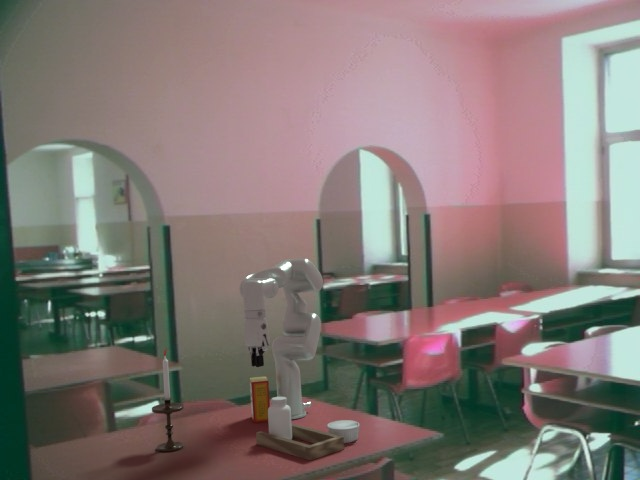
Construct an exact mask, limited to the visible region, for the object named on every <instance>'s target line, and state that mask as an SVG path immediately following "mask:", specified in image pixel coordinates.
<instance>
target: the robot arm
mask: <svg viewBox="0 0 640 480" xmlns="http://www.w3.org/2000/svg"><path fill="white" fill-rule="evenodd" d="M323 286H324V280H323V276H322V274H321V272H320V271H319V270H318V268H317V266H315V264H314V263H313V262H312V261H311V260H310V259H308V258H288V259H283V260H281V261H280V262H278V263H276V265H274V266H272V267H271V268H267V269H264V270H260V271H257V272H253V273H251V274H249V275H246V277H244V278H243V279H242V281H241V282H240V284H239V290H238V291H239V294H240V295H241V297H242V299H243V316H244V322H243V340H244V341H243V342H244V344H245V348H246V349H247V350H248V351H249V355H250V358H251V359H250V360H251V361H250V362H251V367H256V368H260V367H264V366H265V364H264V363H265V361H264V359H265V358H264V355H265V352H266V351H268V350H269V346H270V345H271V336H270V327H269V324H268V319H267V318H266V301H265V300H266V299H272V298H274V297H276V296H277V294H278V292H279V289H281V288H282V290H283V293H284V297H285V300H286V308H285V312H284V315H283V318H282V322H281V332H282V334H283V335H280V336H276V338H274V340H273V341H272V345H271V351H272V355H273V360H274V364H275V379H276V394H277V396H276V397H286V398H287V402H286V405H288V406H289V407H290V409H291V420H296V419H301V418H304V417H306V416H307V411H306V410H305V409H306V408H310V407H312V403H311V401H309V402H306V403H305V402H304V401H303V400H302V399H303V398H302V385H301V384H302V381H301V371H300V366H299V365H298V364H297V362H296V361H311V360H313V359H314V358H315V356H316V353H317V350H318V349H317V348H318V345H319V339H320V335H321V331H322V321H321V318H320V316H319V315H318V314H316V313H314V312H307V310H308V304H307V302H306V301H305V299H304V298H303V297H302V296H301V294H300V293H302V294H304V293H318V292H320V291H321V290H322V288H323Z"/></svg>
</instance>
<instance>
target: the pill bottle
mask: <svg viewBox="0 0 640 480" xmlns="http://www.w3.org/2000/svg"><path fill="white" fill-rule="evenodd" d="M270 401H271V403H270V407H269V408H268V422H267V423H268V434H272V435H275V436H279V437H283V438H286V439H290V440H293V437H292V424H293V423H292V419H291V409H290V407H289V406H288V405H286V402H287V398H286V397H277V396H275V397H271V400H270Z"/></svg>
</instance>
